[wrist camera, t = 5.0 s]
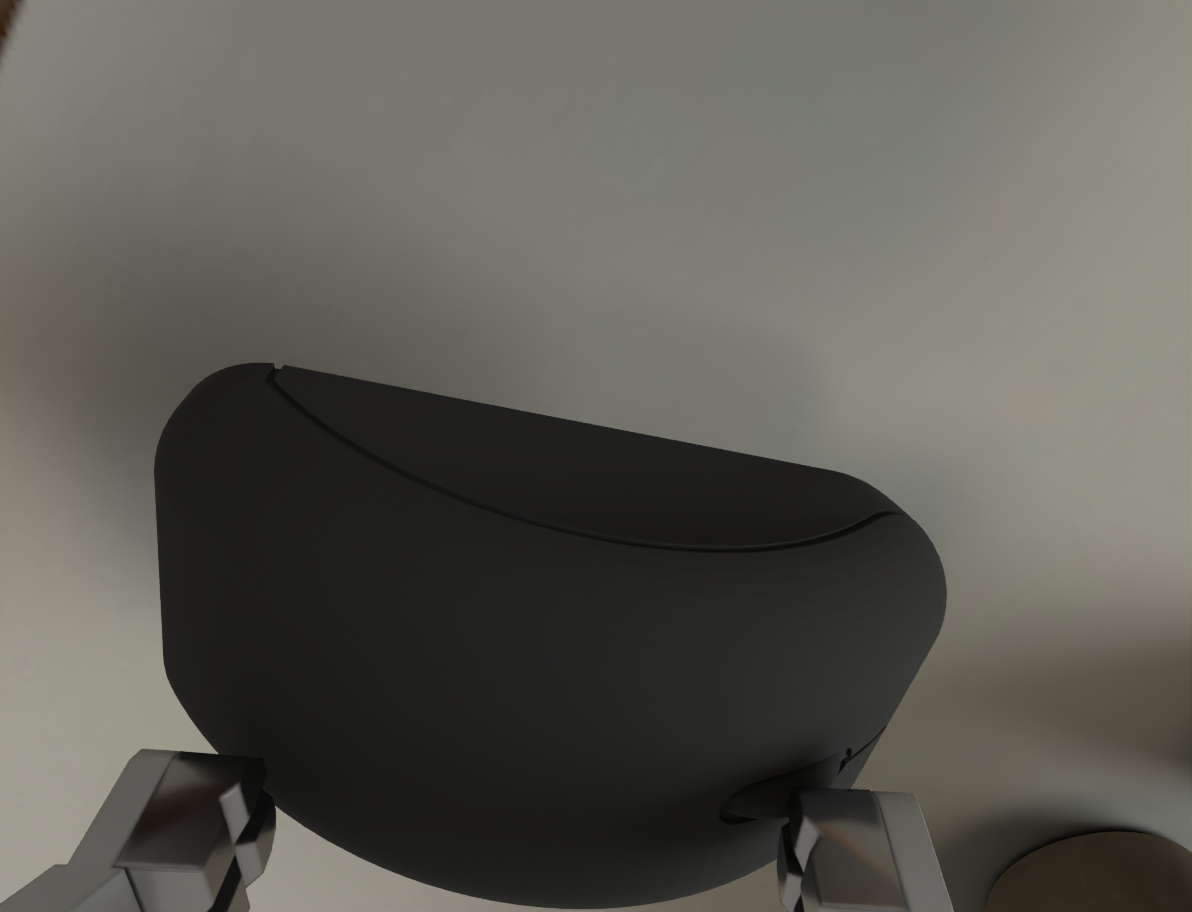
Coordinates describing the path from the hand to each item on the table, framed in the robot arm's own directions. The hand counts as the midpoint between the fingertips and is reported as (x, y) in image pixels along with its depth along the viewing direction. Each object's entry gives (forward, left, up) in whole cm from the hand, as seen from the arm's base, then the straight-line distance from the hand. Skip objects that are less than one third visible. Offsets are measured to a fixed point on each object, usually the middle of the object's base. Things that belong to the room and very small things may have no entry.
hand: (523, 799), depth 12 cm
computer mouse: (-1, 0, -4) cm, 4 cm away
